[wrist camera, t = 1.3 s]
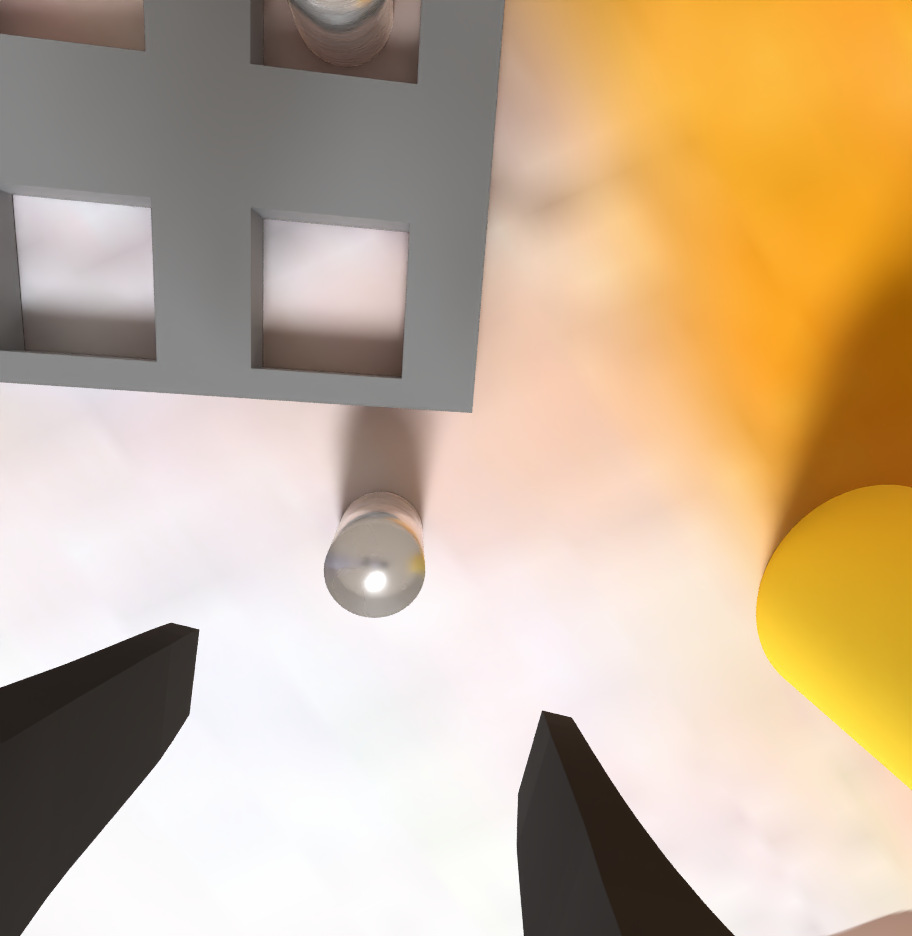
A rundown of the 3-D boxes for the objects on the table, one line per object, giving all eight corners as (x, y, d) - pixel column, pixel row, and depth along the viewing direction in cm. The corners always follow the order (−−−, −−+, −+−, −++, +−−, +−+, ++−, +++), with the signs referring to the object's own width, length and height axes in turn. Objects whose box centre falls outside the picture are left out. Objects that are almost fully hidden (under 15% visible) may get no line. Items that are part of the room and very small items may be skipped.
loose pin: (338, 568, 22) (322, 616, 18) (340, 489, 21) (325, 521, 17) (419, 571, 22) (421, 619, 18) (424, 493, 21) (428, 525, 17)
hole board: (-51, 374, 19) (-89, 376, 17) (-114, -192, 16) (-168, -248, 14) (467, 408, 21) (472, 412, 19) (506, -96, 17) (515, -137, 16)
